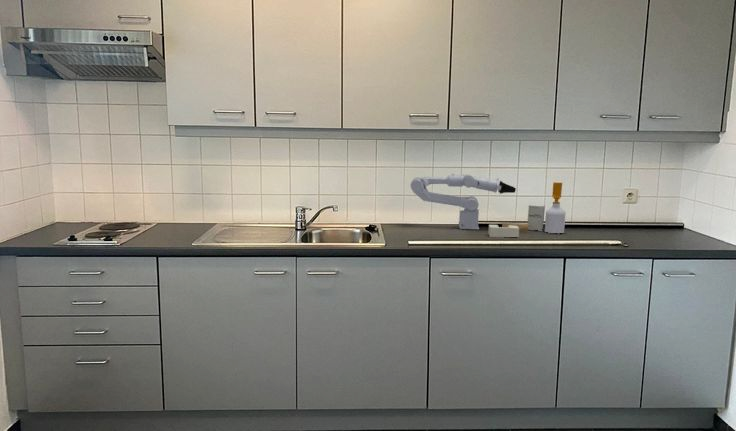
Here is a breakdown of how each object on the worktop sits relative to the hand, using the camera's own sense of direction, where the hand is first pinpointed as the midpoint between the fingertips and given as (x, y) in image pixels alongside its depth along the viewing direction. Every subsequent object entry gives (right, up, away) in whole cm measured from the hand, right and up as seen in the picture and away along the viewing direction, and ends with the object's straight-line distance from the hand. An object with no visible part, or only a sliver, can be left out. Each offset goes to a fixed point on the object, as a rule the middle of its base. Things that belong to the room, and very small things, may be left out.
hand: (514, 189), depth 269 cm
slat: (0, -21, -1) cm, 21 cm away
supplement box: (+12, -20, +5) cm, 24 cm away
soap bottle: (+19, -21, -1) cm, 28 cm away
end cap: (-8, -22, -12) cm, 26 cm away
